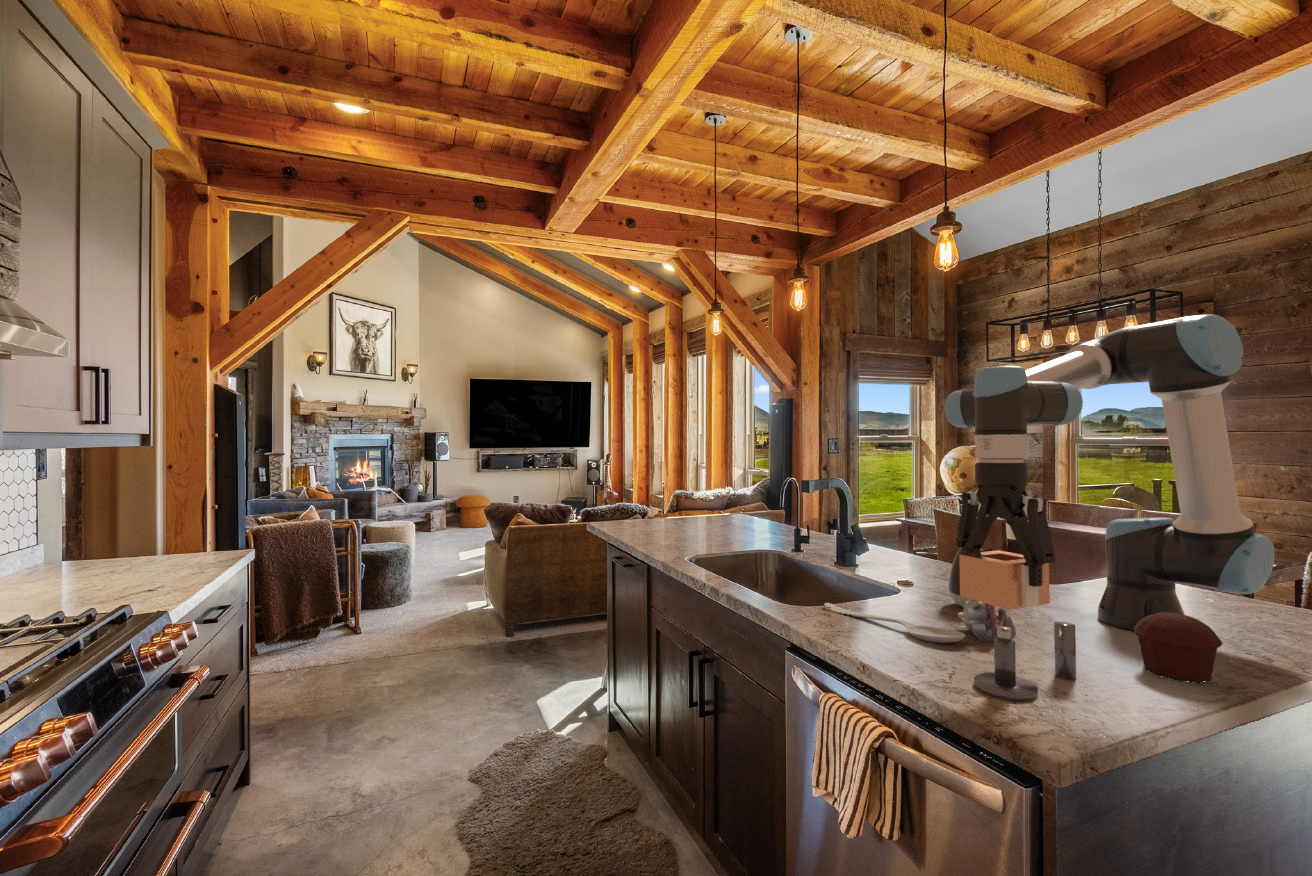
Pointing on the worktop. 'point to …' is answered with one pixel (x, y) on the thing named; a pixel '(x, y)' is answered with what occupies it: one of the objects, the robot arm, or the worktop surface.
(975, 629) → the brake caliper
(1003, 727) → the worktop surface
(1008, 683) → the cylinder
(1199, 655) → the muffin
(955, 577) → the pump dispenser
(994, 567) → the collar
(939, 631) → the spoon
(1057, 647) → the stand rod
